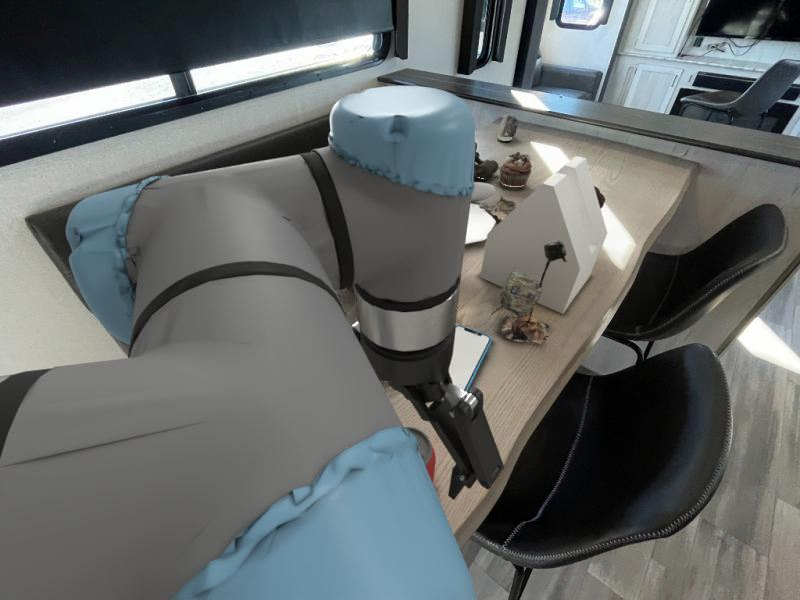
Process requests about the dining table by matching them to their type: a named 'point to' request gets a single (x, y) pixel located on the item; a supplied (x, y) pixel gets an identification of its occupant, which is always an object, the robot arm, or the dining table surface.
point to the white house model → (550, 236)
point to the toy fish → (482, 191)
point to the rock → (508, 126)
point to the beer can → (425, 450)
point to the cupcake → (515, 171)
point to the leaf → (500, 208)
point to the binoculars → (484, 168)
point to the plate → (478, 224)
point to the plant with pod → (526, 301)
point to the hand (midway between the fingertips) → (409, 447)
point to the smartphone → (467, 355)
